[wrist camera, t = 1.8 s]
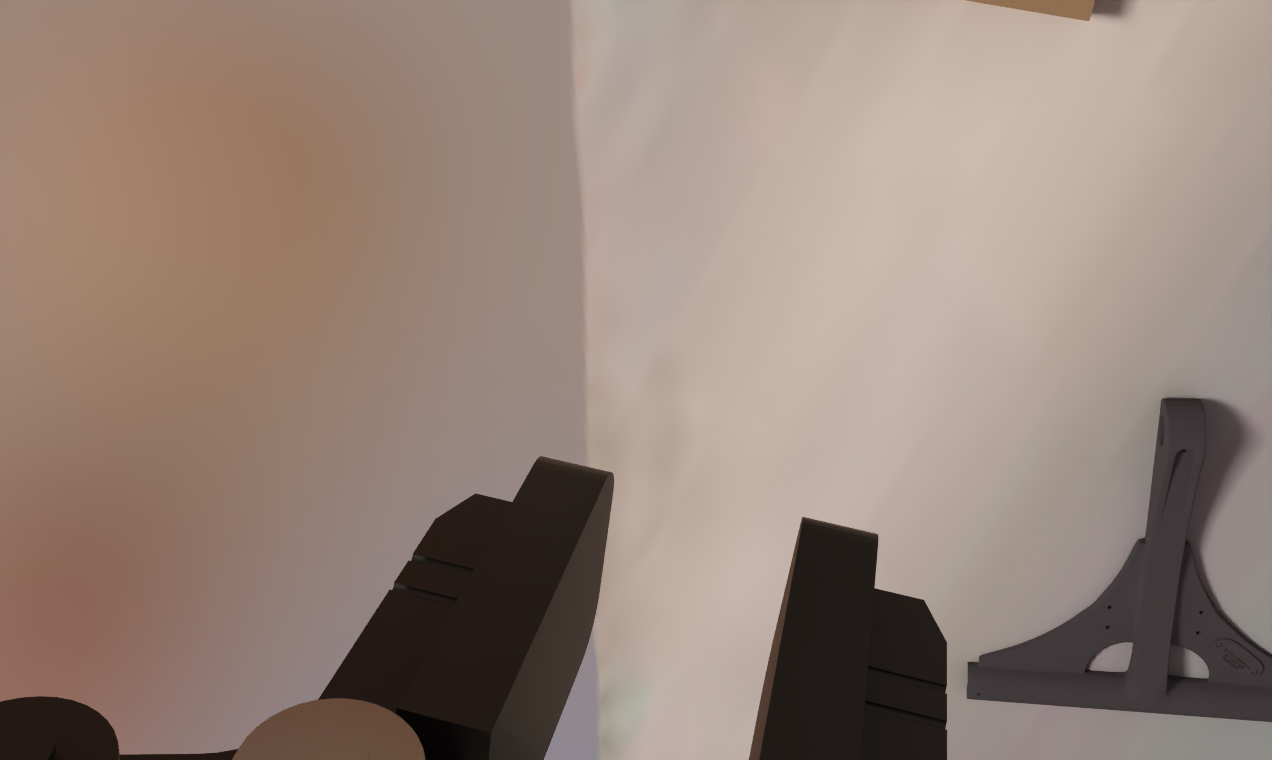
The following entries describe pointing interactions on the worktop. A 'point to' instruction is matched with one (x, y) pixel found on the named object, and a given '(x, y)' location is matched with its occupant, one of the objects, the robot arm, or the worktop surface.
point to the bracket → (1144, 617)
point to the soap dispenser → (1049, 7)
